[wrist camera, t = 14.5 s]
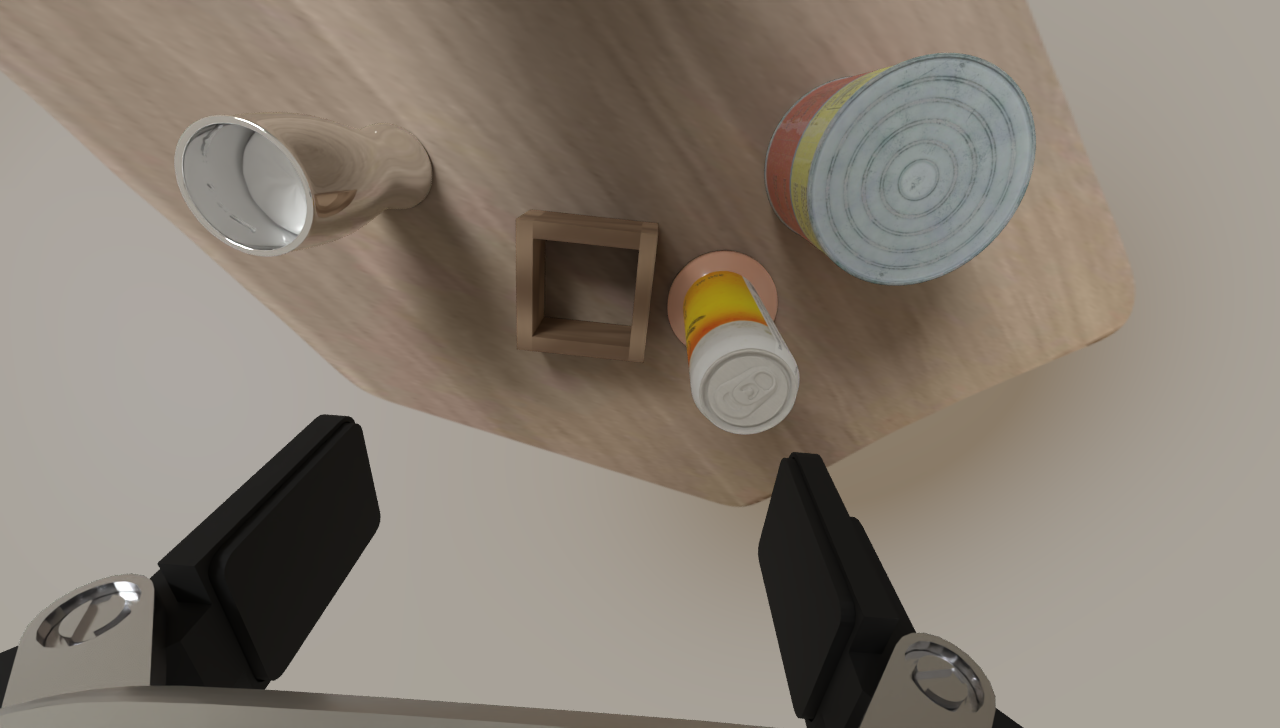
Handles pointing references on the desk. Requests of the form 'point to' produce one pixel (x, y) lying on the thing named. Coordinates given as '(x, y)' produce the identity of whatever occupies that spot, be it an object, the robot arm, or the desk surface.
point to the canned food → (904, 166)
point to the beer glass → (295, 178)
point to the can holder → (574, 333)
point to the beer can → (736, 356)
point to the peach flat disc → (711, 264)
